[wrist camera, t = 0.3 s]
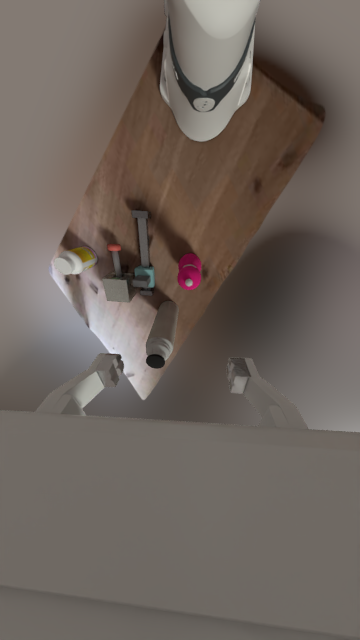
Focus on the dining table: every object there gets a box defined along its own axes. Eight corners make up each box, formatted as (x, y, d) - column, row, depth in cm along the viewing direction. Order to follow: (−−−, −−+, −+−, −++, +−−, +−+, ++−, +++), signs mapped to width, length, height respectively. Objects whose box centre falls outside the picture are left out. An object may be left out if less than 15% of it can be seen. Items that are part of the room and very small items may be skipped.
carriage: (137, 265, 53) (128, 273, 45) (154, 266, 53) (148, 275, 45) (139, 282, 56) (131, 292, 49) (155, 283, 56) (149, 293, 49)
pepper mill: (188, 277, 55) (186, 303, 38) (175, 261, 52) (167, 281, 35) (204, 264, 52) (210, 286, 35) (191, 246, 49) (191, 261, 32)
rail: (135, 210, 45) (131, 210, 42) (150, 211, 45) (147, 211, 42) (142, 290, 59) (140, 294, 56) (154, 291, 59) (152, 295, 56)
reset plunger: (110, 243, 49) (104, 245, 46) (122, 244, 49) (117, 246, 45) (116, 278, 55) (112, 282, 52) (127, 279, 55) (123, 282, 52)
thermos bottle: (180, 315, 64) (174, 371, 41) (162, 318, 66) (146, 374, 42) (175, 299, 60) (165, 350, 37) (156, 302, 61) (135, 354, 38)
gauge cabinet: (111, 271, 55) (101, 278, 49) (133, 273, 55) (126, 280, 49) (116, 292, 60) (107, 300, 54) (136, 293, 60) (129, 302, 54)
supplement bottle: (78, 242, 51) (48, 249, 40) (98, 250, 52) (74, 258, 41) (78, 262, 54) (51, 272, 44) (97, 269, 55) (75, 281, 45)
